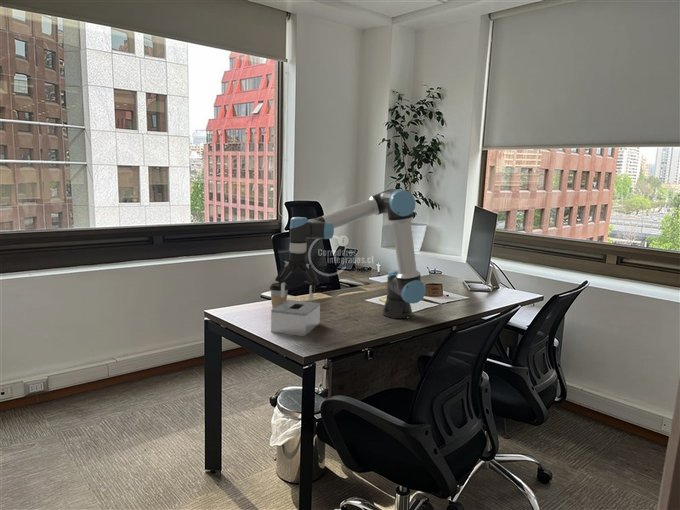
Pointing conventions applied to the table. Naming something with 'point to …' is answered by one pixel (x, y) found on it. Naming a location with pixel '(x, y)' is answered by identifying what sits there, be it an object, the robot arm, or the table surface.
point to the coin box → (295, 317)
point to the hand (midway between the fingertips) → (296, 298)
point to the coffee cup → (277, 295)
